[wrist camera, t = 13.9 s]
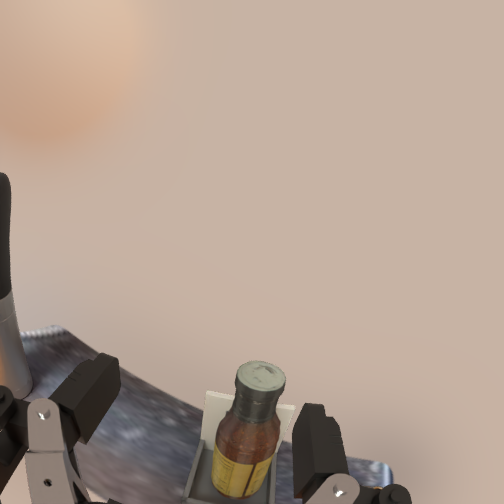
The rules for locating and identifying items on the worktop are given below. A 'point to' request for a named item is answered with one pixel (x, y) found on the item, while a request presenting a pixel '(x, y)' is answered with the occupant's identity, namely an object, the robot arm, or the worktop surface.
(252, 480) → the sauce bottle
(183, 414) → the worktop surface
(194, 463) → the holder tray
